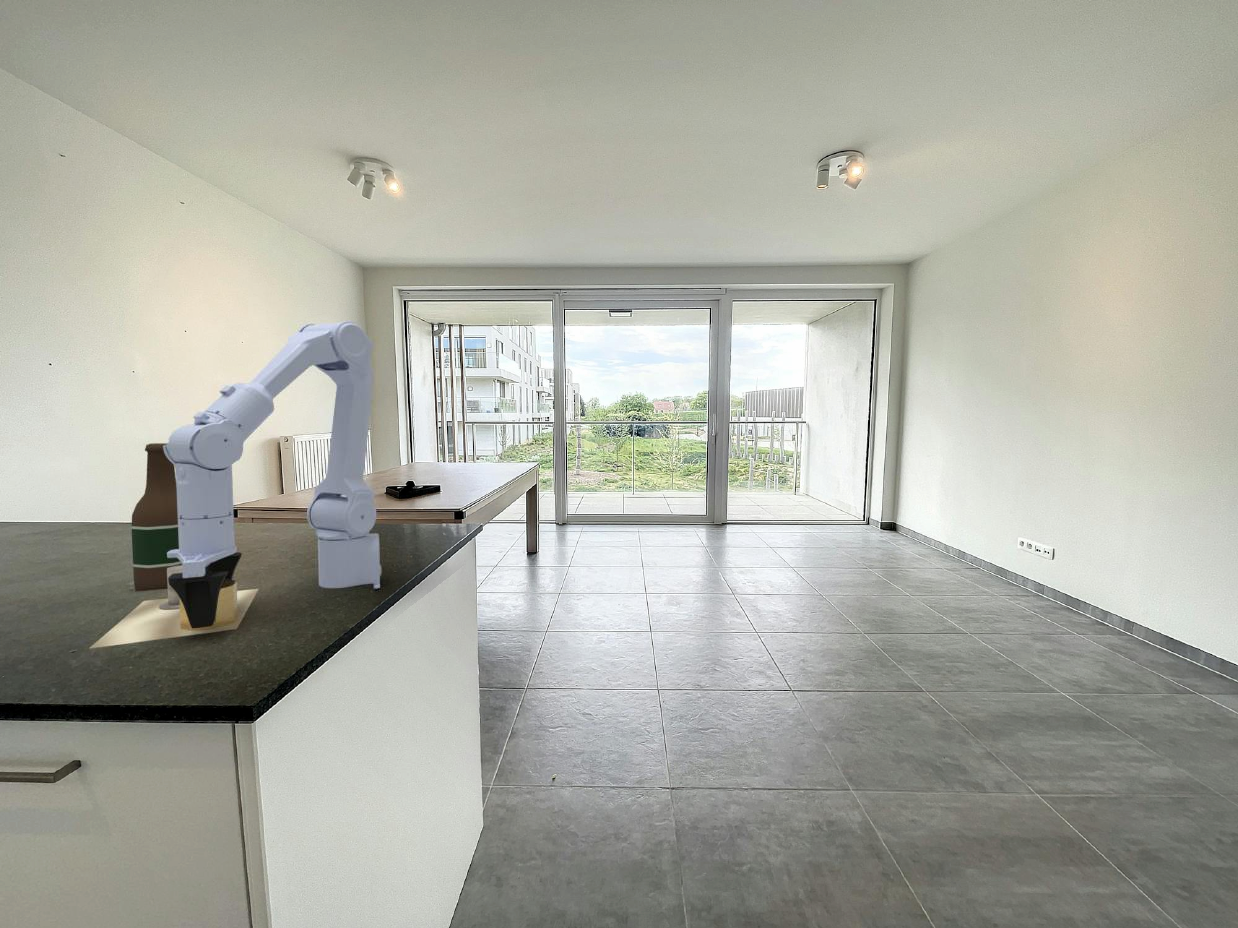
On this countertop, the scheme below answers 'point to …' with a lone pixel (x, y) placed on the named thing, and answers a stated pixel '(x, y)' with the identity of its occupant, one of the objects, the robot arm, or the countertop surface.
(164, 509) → the beer bottle
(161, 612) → the board
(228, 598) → the collar ring
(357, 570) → the robot arm
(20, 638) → the countertop surface
